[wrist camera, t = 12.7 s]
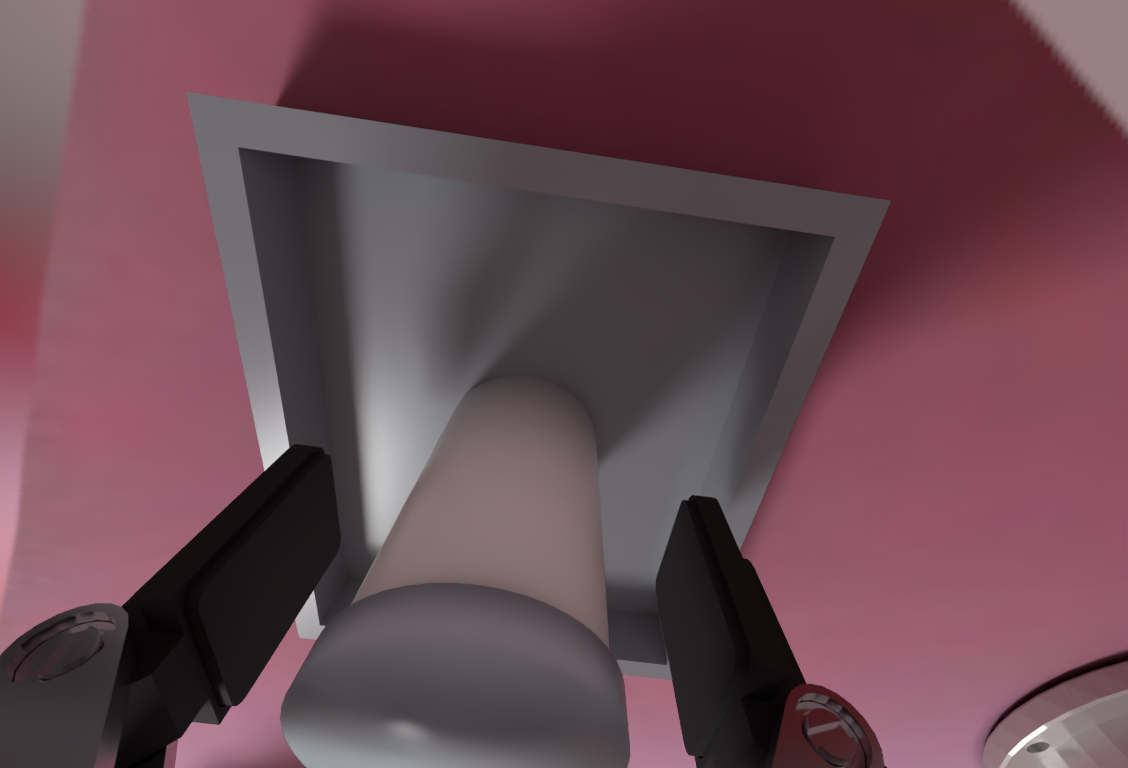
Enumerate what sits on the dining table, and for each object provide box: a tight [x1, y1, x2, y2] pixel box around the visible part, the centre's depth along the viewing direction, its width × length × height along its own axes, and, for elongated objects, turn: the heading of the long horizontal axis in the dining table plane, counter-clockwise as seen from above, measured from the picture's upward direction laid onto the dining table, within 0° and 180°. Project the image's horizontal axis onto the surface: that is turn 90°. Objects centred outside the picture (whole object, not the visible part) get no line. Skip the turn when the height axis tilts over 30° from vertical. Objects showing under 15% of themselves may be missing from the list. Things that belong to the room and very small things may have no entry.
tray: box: [186, 92, 891, 680], centre depth 13 cm, size 14×16×2 cm
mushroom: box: [280, 375, 630, 768], centre depth 10 cm, size 5×5×8 cm
